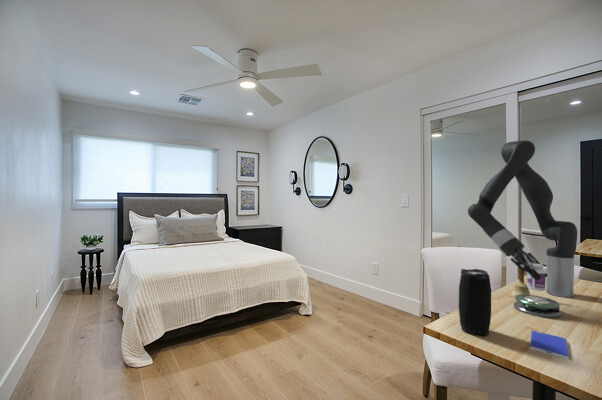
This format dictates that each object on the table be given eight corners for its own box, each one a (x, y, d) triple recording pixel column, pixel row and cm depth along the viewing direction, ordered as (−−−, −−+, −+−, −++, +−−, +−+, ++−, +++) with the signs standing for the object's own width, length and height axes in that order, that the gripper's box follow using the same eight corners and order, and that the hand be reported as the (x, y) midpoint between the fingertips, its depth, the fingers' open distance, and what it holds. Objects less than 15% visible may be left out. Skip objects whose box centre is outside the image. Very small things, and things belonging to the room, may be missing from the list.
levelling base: (512, 301, 118) (512, 291, 118) (556, 308, 110) (556, 297, 110) (515, 312, 106) (515, 301, 106) (565, 321, 98) (565, 309, 98)
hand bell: (531, 301, 117) (532, 264, 117) (507, 296, 123) (508, 260, 123) (535, 297, 123) (535, 261, 123) (512, 292, 129) (512, 258, 129)
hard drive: (531, 329, 90) (530, 345, 80) (566, 338, 84) (569, 355, 75) (531, 334, 90) (529, 350, 80) (566, 343, 84) (569, 361, 75)
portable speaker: (453, 328, 92) (453, 269, 92) (469, 322, 97) (469, 266, 97) (480, 340, 85) (481, 276, 85) (496, 332, 90) (496, 272, 90)
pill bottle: (546, 289, 108) (547, 264, 108) (543, 292, 104) (544, 266, 104) (528, 285, 112) (529, 261, 112) (525, 288, 108) (526, 263, 108)
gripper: (506, 237, 110) (543, 275, 100) (522, 235, 118) (558, 270, 108) (491, 249, 115) (525, 286, 105) (507, 246, 123) (541, 280, 112)
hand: (542, 278), depth 106 cm, fingers closed on pill bottle, 5 cm apart
